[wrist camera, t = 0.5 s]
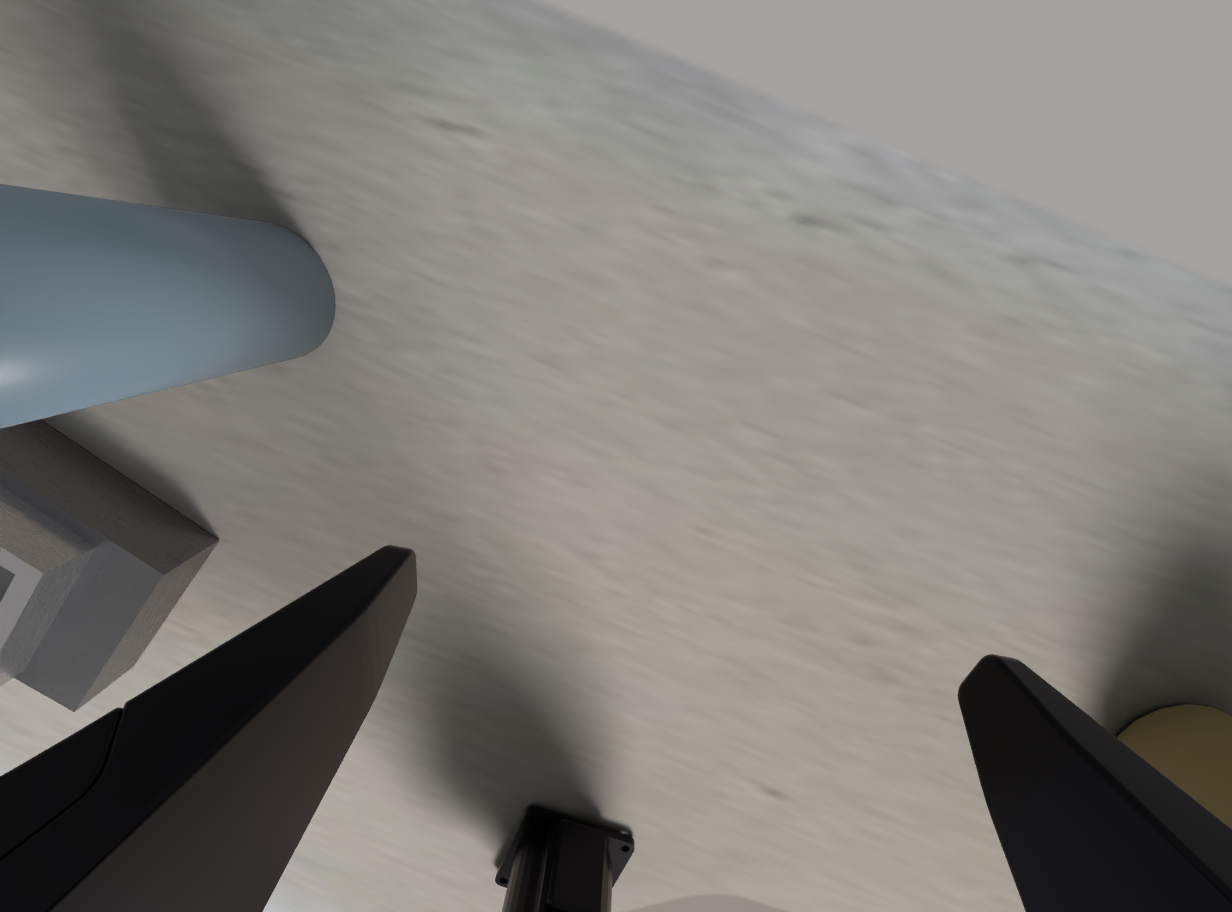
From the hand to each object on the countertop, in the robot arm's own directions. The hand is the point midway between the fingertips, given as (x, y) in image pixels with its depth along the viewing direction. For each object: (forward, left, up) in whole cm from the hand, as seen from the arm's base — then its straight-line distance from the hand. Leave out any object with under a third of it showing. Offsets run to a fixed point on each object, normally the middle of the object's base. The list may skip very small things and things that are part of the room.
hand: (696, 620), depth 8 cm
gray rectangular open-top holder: (-16, +25, -14) cm, 33 cm away
